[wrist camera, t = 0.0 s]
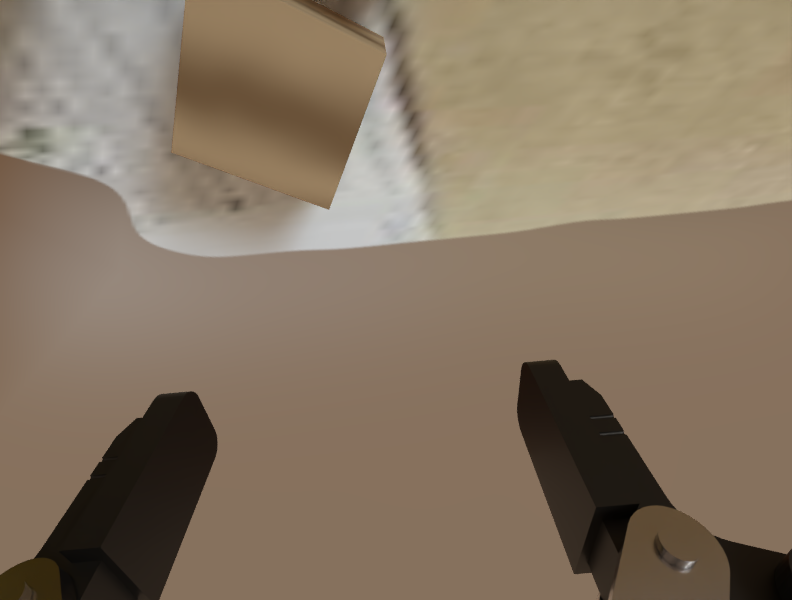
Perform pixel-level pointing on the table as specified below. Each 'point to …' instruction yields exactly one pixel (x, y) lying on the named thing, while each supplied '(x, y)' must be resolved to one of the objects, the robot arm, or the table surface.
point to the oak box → (274, 92)
